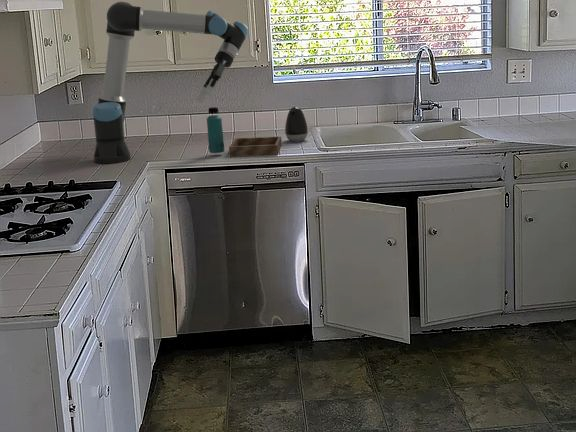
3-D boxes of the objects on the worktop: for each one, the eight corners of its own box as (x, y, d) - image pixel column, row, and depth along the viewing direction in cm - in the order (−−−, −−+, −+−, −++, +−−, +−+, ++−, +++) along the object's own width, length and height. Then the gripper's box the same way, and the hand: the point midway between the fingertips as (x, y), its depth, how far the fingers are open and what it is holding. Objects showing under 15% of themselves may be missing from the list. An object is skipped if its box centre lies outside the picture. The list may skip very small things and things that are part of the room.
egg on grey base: (282, 143, 380) (280, 108, 376) (289, 138, 389) (287, 105, 385) (304, 143, 377) (303, 108, 373) (311, 138, 386) (309, 104, 382)
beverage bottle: (222, 156, 357) (219, 108, 352) (207, 156, 358) (203, 108, 353) (226, 153, 363) (223, 106, 358) (211, 153, 364) (207, 106, 359)
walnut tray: (229, 156, 356) (229, 147, 355) (235, 147, 376) (235, 138, 374) (278, 154, 355) (277, 145, 354) (281, 145, 374) (281, 136, 373)
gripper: (241, 51, 356) (218, 94, 350) (225, 67, 379) (203, 108, 374) (226, 42, 354) (202, 85, 349) (211, 58, 377) (188, 99, 372)
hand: (203, 97), depth 361 cm, fingers open, 13 cm apart
